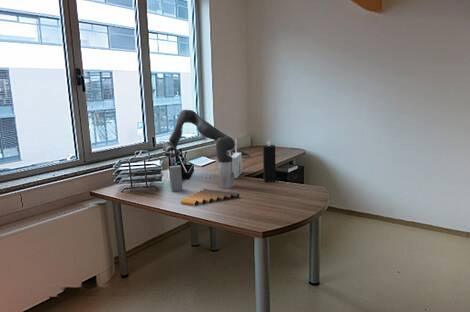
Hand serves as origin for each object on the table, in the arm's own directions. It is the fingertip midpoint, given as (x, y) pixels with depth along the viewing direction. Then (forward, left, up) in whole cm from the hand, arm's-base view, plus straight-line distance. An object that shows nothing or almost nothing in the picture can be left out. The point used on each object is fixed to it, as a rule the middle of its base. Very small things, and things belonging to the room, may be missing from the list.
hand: (173, 155), depth 242 cm
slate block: (-7, +7, -21) cm, 24 cm away
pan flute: (-40, +16, -22) cm, 49 cm away
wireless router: (+17, -109, -21) cm, 113 cm away
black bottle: (-53, -38, -21) cm, 69 cm away
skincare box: (-23, -43, -22) cm, 53 cm away
